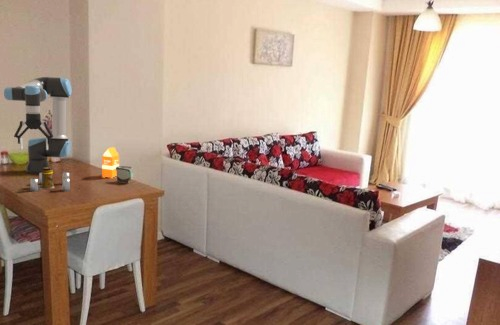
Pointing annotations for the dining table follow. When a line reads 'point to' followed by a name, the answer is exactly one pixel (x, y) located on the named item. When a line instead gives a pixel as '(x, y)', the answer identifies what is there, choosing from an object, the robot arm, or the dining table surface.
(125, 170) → the retro television
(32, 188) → the cylinder
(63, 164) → the dining table surface
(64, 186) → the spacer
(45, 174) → the condiment
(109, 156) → the orange juice
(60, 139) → the robot arm
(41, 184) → the cylinder
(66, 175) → the cylinder
